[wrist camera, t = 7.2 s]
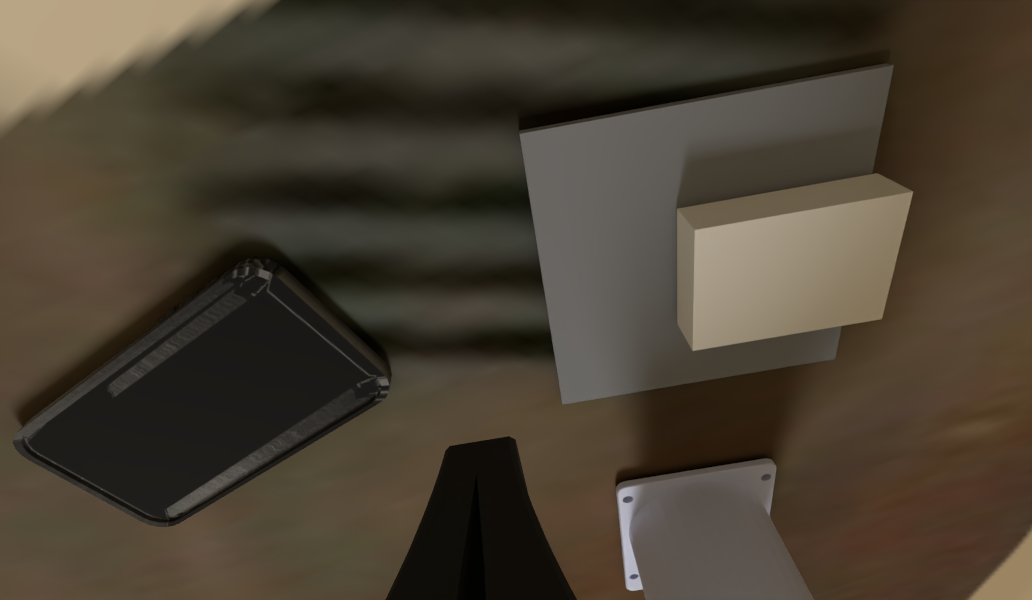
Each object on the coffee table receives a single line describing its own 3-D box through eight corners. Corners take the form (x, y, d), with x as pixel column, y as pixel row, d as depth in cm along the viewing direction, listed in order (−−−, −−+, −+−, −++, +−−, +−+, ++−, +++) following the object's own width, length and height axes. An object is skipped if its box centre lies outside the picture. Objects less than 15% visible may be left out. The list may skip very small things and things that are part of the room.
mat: (830, 353, 24) (835, 358, 23) (561, 398, 24) (562, 404, 24) (885, 63, 17) (893, 65, 17) (519, 130, 18) (519, 134, 17)
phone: (401, 389, 22) (162, 533, 26) (404, 372, 23) (173, 513, 27) (250, 252, 19) (-3, 443, 22) (261, 239, 20) (16, 424, 23)
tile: (675, 320, 22) (849, 291, 21) (692, 351, 20) (881, 319, 20) (675, 206, 19) (873, 171, 19) (694, 230, 17) (912, 191, 17)
